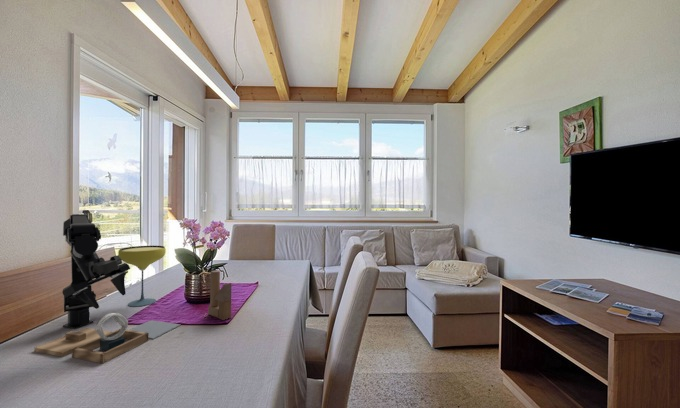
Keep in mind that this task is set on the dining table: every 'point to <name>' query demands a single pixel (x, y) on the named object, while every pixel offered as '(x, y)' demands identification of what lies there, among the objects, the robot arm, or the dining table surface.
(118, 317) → the watch
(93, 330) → the lid
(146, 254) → the cocktail glass
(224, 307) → the wooden block
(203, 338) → the dining table surface
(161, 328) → the felt mat
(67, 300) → the robot arm
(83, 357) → the wooden rectangular frame
